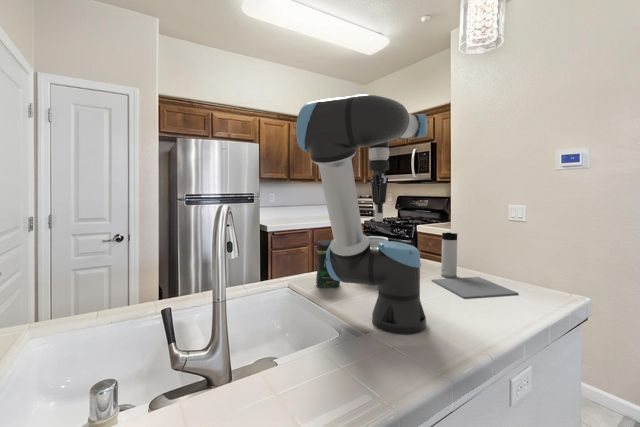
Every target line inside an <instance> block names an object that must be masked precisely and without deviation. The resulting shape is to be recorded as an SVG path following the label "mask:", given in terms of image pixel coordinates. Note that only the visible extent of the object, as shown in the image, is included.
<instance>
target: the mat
mask: <svg viewBox="0 0 640 427" xmlns="http://www.w3.org/2000/svg"><path fill="white" fill-rule="evenodd" d="M431 282H433V283H434V284H436V285H437V286H440V287H441V288H444V289H445V290H448V291H449V292H451V293H452V294H455V295H456V296H458V297H460V298H462V299H475V298H490V297H493V298H494V297H501V296H502V297H505V296H515V295H516V296H519V292H517V291H514V290H513V289H509V288H507V287H505V286H503V285H499V284H497V283H495V282H493V281H491V280H487V279H485V278H483V277H480V276H471V277H469V276H468V277H456V278H437V279H435V278H434V279H431Z"/></svg>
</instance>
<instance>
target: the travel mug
mask: <svg viewBox="0 0 640 427" xmlns="http://www.w3.org/2000/svg"><path fill="white" fill-rule="evenodd" d="M441 235H442V236H441V277H442V278H444V279H451V278H458V277H457V272H458V271H457V269H458V266H457V264H458V232H457V233H453V232H449V231H448V232H442V233H441Z"/></svg>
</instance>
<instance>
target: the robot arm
mask: <svg viewBox="0 0 640 427" xmlns="http://www.w3.org/2000/svg"><path fill="white" fill-rule="evenodd" d="M295 125H296V126H295V132H296V133H295V135H296V140H297V144H298V147H299V148H300V149H301V150H302V151H304V152H306V153H307V152H308V153H309V156H310V159H311V162H313V163H314V164H316V165H317V166H318V170H319V174H320V179H321V184H322V190H323V194H324V199H325V202H326V208H327V212H328V213H327V214H328V217H329V222H330V226H331V231H332V238H333V239H331V240H332V242H331V244H330V246H329V247H328V249H327V253H326V259H327V261H326V266H327V270H328V273H329V275H330V276H331V277H332V278H333V279H334V280H336V281H340V283H341V282H342V283H345V284H357V285H358V284H359V285H368V286H374V287H375V286H376V287H377V289H378V291H377V292H378V294H377V299H376V302H375V305H374V307H373V310H372V317H371V323H372V324H373V326H374V327H375V328H377V329H378V330H381V331H383V332H386V333H390V334H395V335H414V334H418V333H421V332H423V331H424V330H425V329H426V328H427V318H426V317H427V316H426V314H425V311H424V308H423V305H422V301H421V267H422V263H421V253H420V250H419V249H418V248H417V247H416V246H414V245H412V244H408V243H405V242H404V243H403V242H399V241H392V240H391V241H389V240H388V241H381V242H379V244H378V246H370V242H369V239H368V237H367V235H366V234H364V232H363V226H362V218H361V212H360V206H359V200H358V193H357V187H356V181H355V174H354V173H355V172H354V168H353V167H354V166H353V161H352V159H353V158H354V157H355V155H356V153H357V148H367V147H368V159H369V161H368V169H369V171H371V172H373V173H372V176H371V177H372V178H370V180H369V181H370V186H371V196H372V197H371V198H372V199H371V200H372V203H373V204H374V222H384V216H383V215H384V204H385V203H386V200H387V198H386V197H387V191H388V190H387V189H388V183H389V177H386V171H389V169H390V161H389V158H390V154H391V151H390V142H393V141H394V142H395V141H396V140H403V139H404V140H405V139H418V138H425V137H426V136H427V134H428V116H427V114H425V113H420V114H419V113H416V114H411V113H409V111H408V110H407V108H406V107H405V106H404V105H403V104H402V103H400V102H399V101H397V100H394V99H391V98H389V97H384V96H381V95H376V94H375V95H374V94H355V95H351V96H344V97H334V98H326V99H320V100H319V99H318V100H315V101H310V102H308V103H305V104H304V105H303V106H302V107H301V108H300V110H299V112H298V115H297V119H296V124H295Z"/></svg>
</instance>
